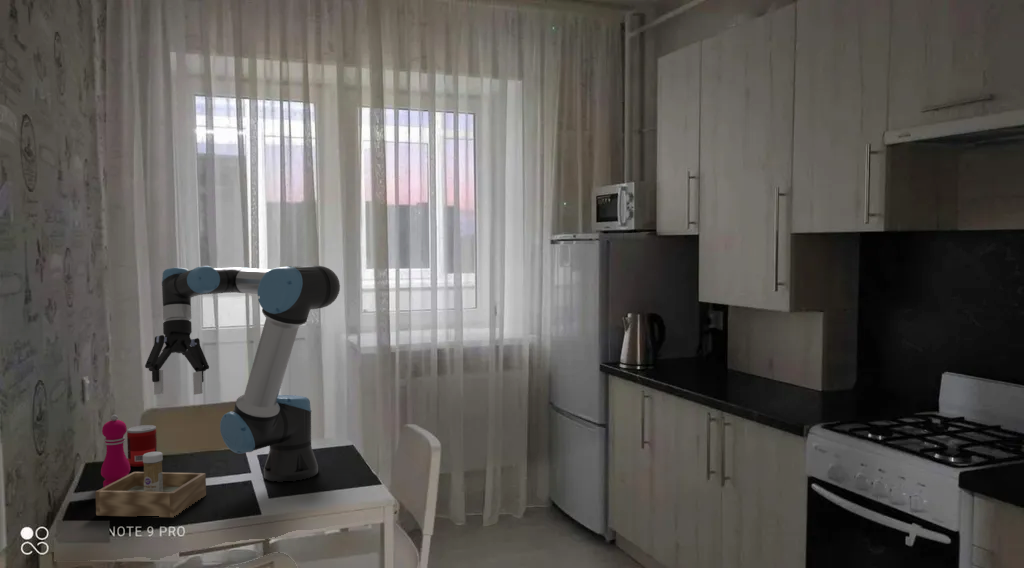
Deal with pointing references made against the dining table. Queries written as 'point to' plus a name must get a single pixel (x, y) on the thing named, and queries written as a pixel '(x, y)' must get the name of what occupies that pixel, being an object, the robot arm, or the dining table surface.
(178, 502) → the bore box
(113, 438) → the pepper mill
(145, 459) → the sprinkles bottle
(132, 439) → the canned food
